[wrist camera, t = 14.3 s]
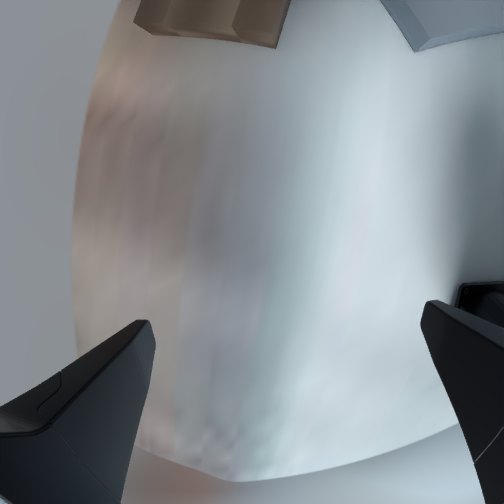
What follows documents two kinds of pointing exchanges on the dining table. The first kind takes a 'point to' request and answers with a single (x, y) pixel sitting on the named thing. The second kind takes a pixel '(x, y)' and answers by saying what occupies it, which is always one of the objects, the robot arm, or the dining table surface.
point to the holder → (216, 19)
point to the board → (445, 20)
